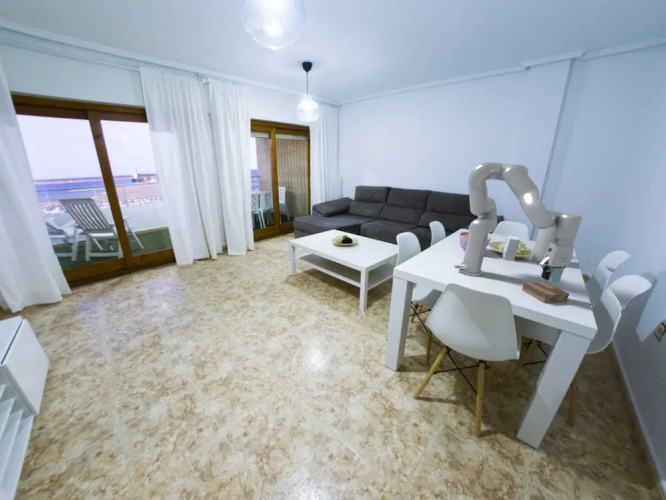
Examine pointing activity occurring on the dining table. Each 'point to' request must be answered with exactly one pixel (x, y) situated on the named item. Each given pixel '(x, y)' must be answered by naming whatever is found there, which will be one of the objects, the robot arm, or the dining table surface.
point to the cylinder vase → (542, 244)
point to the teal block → (554, 274)
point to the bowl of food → (464, 239)
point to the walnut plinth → (545, 292)
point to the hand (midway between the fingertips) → (550, 278)
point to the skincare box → (510, 248)
